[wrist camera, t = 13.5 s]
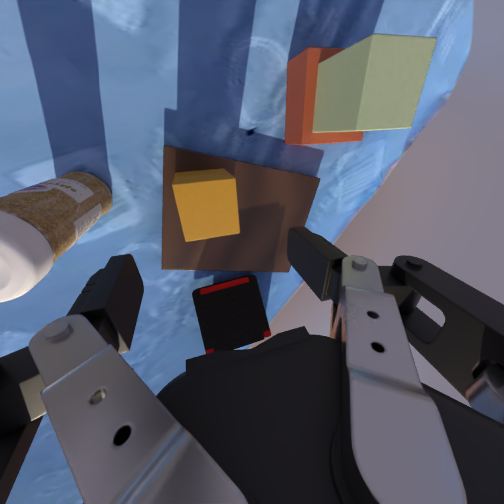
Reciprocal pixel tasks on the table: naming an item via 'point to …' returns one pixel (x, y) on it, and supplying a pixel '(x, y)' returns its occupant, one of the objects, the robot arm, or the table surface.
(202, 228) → the top block
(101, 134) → the table surface
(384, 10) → the table surface
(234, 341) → the handheld gaming console
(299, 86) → the base block
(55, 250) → the spice jar
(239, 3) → the table surface
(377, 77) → the middle block
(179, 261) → the board
